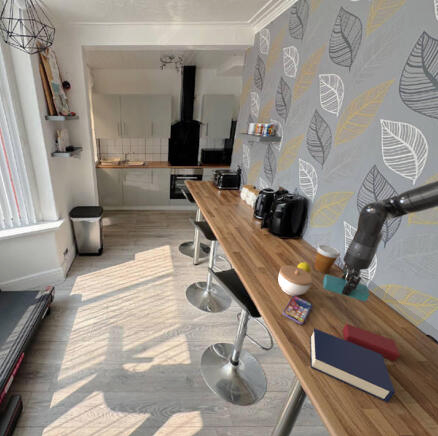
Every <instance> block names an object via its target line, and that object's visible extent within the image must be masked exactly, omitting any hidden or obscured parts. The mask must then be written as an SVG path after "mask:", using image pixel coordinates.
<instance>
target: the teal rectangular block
mask: <svg viewBox="0 0 438 436" xmlns="http://www.w3.org/2000/svg"><path fill="white" fill-rule="evenodd" d="M341 278H342V277H341ZM341 278H340V277H337V276H334V275H330V274H328V273H325V275H324V277H323V280H322V283H323V284H322V285H323V289H324V290H325V291H326V290H327V291H329V292H332V293H336V294H339V295H342V296H346V297H349V298H351V299H355V300H359V301H361V302H365V303H366V302H367V301H368V299H369V297H370V295H371V294H370V291H369V289H368V286H367V285H366V284H361V283H359V284H358V285H357V287H356V289H355V290H353V289H352V290H351V292H350V294H349V296H347V295H343V294H342V290H343V288H344V286H345V283H346V280H344V279H341ZM350 285H352V284H350Z"/></svg>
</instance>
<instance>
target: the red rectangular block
mask: <svg viewBox="0 0 438 436" xmlns="http://www.w3.org/2000/svg"><path fill="white" fill-rule="evenodd" d="M342 334H343V340H346V341H348V342H351V343H353V344H356V345H359V346H361V347H364V348H366V349H369V350H371V351H374V352H377V353H379V354H382V355H383V358H384V359H387V360H389V361H392V362H396V360H397V359H398V358H399V357H400V354H401V353H400V352H399V349H398V347H397V344H396V342H395V340H393V339H391V338H388V337H385V336H382V335H380V334H377V333H375V332H371V331H368V330H366V329H363V328H360V327H357V326H355V325H352V324H350V323H345V325H344V327H343V329H342Z"/></svg>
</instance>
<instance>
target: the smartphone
mask: <svg viewBox="0 0 438 436" xmlns="http://www.w3.org/2000/svg"><path fill="white" fill-rule="evenodd" d="M312 308H313V303H312V302H310V301H308V300H306V299H304V298H301V297H299V295H298V296H292V297H291V299H290V300H289V301H288V303H287V305H286V306H285V308H284V310H283V312H282V314H283V316H285V317H287V318H288V319H290V320H292V321H294V322H295V323H297V324H299V325H304V324H305V322H306V320H307V318H308V316H309V314H310V312H311V310H312Z"/></svg>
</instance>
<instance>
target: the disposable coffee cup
mask: <svg viewBox="0 0 438 436" xmlns="http://www.w3.org/2000/svg"><path fill="white" fill-rule="evenodd" d="M340 256H341V253H340V250H339V249H337V248H336V247H333V246H331V245H327V244H320V245H318V247H316V255H315V261H314V264H313V268H314V269H315V270H316V271H318V272H320V273H324V274H328V273H329V271H330V270H331V269H332V267H333V265H334V264H335V262H336V261H337V259H338V258H339V257H340Z"/></svg>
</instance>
